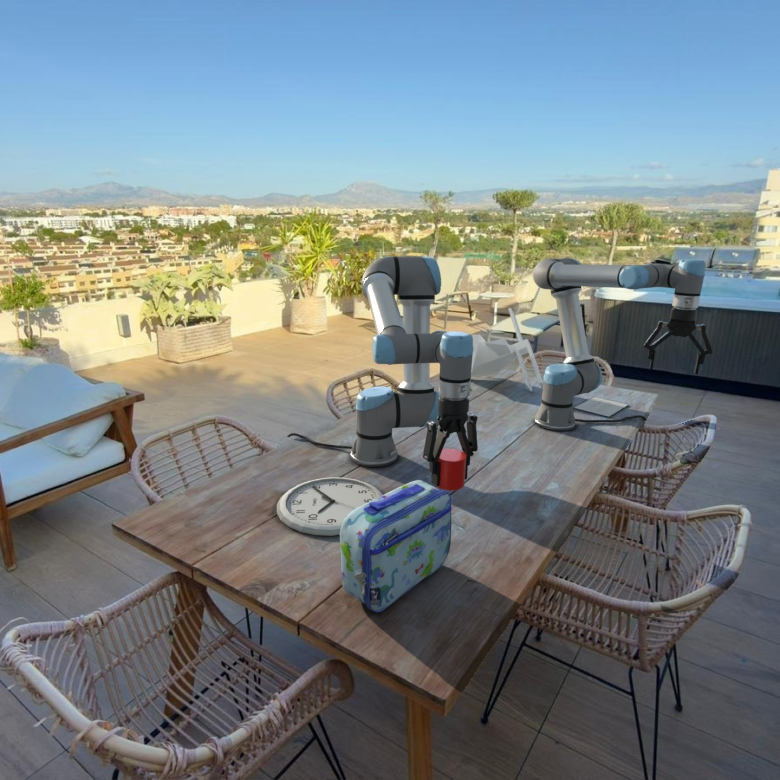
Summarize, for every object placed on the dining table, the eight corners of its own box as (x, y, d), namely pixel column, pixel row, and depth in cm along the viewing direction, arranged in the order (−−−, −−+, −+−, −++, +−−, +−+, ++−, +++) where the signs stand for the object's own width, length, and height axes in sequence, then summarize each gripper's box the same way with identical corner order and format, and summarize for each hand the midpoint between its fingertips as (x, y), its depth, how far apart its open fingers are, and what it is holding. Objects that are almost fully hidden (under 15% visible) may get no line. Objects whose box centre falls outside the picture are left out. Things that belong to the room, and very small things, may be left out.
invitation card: (608, 416, 214) (573, 407, 224) (608, 416, 214) (573, 408, 224) (628, 404, 229) (594, 396, 238) (628, 405, 229) (594, 397, 238)
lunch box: (369, 626, 100) (370, 530, 93) (334, 598, 107) (332, 507, 101) (455, 567, 117) (460, 483, 111) (419, 547, 124) (423, 467, 118)
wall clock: (392, 527, 129) (268, 531, 127) (391, 533, 130) (269, 537, 127) (383, 473, 158) (282, 475, 155) (383, 478, 158) (282, 480, 156)
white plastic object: (478, 420, 264) (457, 397, 239) (460, 347, 286) (438, 319, 261) (549, 396, 251) (535, 369, 227) (524, 322, 273) (509, 290, 249)
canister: (436, 491, 130) (438, 461, 128) (431, 476, 137) (433, 448, 135) (467, 490, 131) (469, 461, 128) (461, 476, 138) (462, 448, 135)
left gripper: (426, 406, 119) (422, 496, 126) (497, 394, 128) (490, 478, 135) (409, 397, 125) (406, 482, 132) (478, 386, 135) (472, 466, 142)
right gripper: (643, 306, 172) (632, 369, 179) (730, 312, 163) (717, 378, 169) (642, 304, 179) (632, 364, 185) (726, 309, 169) (713, 372, 176)
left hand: (449, 480), depth 134 cm, fingers closed on canister, 8 cm apart
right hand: (673, 371), depth 177 cm, fingers open, 13 cm apart
